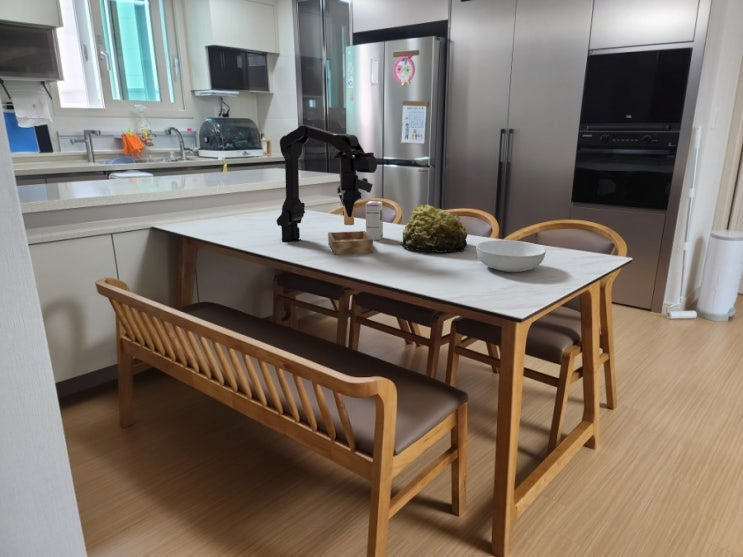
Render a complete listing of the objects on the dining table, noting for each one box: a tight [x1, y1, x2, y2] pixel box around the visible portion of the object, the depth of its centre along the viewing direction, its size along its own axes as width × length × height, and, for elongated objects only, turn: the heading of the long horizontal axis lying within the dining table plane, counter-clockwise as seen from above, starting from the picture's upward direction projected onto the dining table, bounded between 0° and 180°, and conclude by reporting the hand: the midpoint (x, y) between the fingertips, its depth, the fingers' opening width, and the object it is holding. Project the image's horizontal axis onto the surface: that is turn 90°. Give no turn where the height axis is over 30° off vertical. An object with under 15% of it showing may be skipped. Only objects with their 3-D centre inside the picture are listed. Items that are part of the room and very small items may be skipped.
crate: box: [327, 230, 374, 255], centre depth 187 cm, size 14×17×4 cm
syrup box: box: [364, 200, 384, 241], centre depth 201 cm, size 6×6×14 cm
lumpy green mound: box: [401, 204, 468, 254], centre depth 187 cm, size 25×24×16 cm
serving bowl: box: [475, 239, 547, 273], centre depth 159 cm, size 21×21×7 cm
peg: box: [343, 206, 355, 226], centre depth 183 cm, size 4×4×9 cm
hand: (349, 216), depth 184 cm, fingers closed on peg, 4 cm apart
